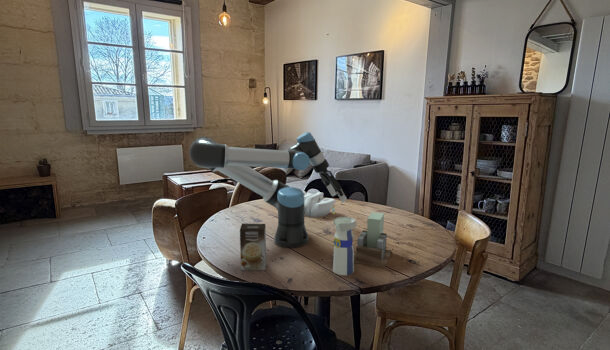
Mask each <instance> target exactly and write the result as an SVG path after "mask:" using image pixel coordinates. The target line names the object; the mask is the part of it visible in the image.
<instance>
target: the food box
mask: <svg viewBox="0 0 610 350" xmlns="http://www.w3.org/2000/svg"><path fill="white" fill-rule="evenodd" d="M266 231H267V229H266V223H241V225H240V227H239V246H240V248H239V249H240V271H265V270H266V267H267V248H266V247H267V246H266V245H267V244H266V242H267V239H266V237H267V236H266V235H267V234H266ZM265 266H266V267H265Z"/></svg>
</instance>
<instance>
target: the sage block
mask: <svg viewBox="0 0 610 350" xmlns="http://www.w3.org/2000/svg"><path fill="white" fill-rule="evenodd" d="M384 222H385V213H383V212H377V211H376V212H375V211H374V212H373V211H372V212H371V213H370V214H369V215H368V217H367V222H366V223H367V224H366V227H367V228H366V231H367V247H370V248H376V249H377V241H378V239H379V237H380V235H381V233H384V226H385V225H384V224H385V223H384Z"/></svg>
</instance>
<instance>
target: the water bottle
mask: <svg viewBox="0 0 610 350" xmlns="http://www.w3.org/2000/svg"><path fill="white" fill-rule="evenodd" d="M335 211H336V208H335V204H334V205H333V207H332V209H331V213H332V214H333V215H335ZM357 226H358V225H357V220H356V219H355V218H354V217H350V216H339V217H336V218H334V219H333V229H335V233H334V234H333V235H334V238H333V241H332V242H333V243H332V244H333V246H334V247H333V261H332V262H333V263H332V272H333V273H334V274H336V275H339V276H349V275H352V274H353V273H354V272H355V265H354V254H355V252H354V251H355V250H354V249H355V248H354V245H353V239H354V237H355V235H354V233H353V229H355V228H356V227H357Z"/></svg>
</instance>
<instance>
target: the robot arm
mask: <svg viewBox="0 0 610 350" xmlns="http://www.w3.org/2000/svg"><path fill="white" fill-rule="evenodd" d="M188 154H189V158H190V161H191V162H192V163H193V164H194V165H195V166H197V167H199V168H204V169H208V170H210V171H211V172H216V171H217V172H220V173H221V174H223V175H225V176H226V177H228V178H229V179H232V180H233V181H235V182H236V183H239V184H241V186H243V187H245V188H248V189H249V190H251V191H252V192H253V193H256V194H257V195H260V196H261V197H262V199H263V201H264V202H265V203H267V204H268V205H269V206H272V207H274V208H275V209H276V211H277V222H278V224H277V227H276V231H275V234H274V244H276V245H278V246H279V247H282V248H300V247H303V246H305V245H307V244H308V242H309V234H308V232H307V231H308V230H307V229H306V225H305V214H304V201H305V198H304V193H303V191H304V190H302V189H300V188H297V187H293V186H292V187H291V186H289V185H287V184H285V183H282V182H281V181H279V180H278V179H273V180H271V179H270V178H268V177H266V176H265V175H263V174H262V173H260V172H258V171H257V170H255V169H254V168H252V167H255V168H274V169H275V168H278V169H282V168H283V169H295V170H298V171H304V170H306V169H308V168H309V165H311V166H312V169H313V170H314V172H315V173H317V174H318V175H319V177H320V179H321V182H322V183H323V185H324V186H325V187H326V189H327V191H328V192H329V194H330V196H331V197H332V198H333V197H334V196H338V197H339V199H340V201H341V203H344V202H346V201H347V200H348V199H347V195H345V193H344V191H343V187H342V186H341V184H340V183H339V181H338V180H337V179H336V177H335V176H334V174H333V173H332V171H331V170H328V168H329V166H330V164H329V162H328V161H327V159H326V158H325V155H324V152H323V151H322V150H321V149H320V147H319V145H318V143H317V141H316V139H315V138H314V136H313V134H312V133H311V131H310V132H309V131H307V132H304V133H302V134H300V135H299V136H298V137H297V138H296V144H295V143H294V145H292V146H291V147H289V148H287V149H286V150H283V149H282V150H280V149H266V148H249V147H234V146H228V145H227V144H225V143H219V142H218V143H217V142H216V141H215V140H214V139H212V138H210V137H208V136H207V137H206V136H201V137H198V138H195V140H193V141H192V142H191V144H190V146H189V153H188Z"/></svg>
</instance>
